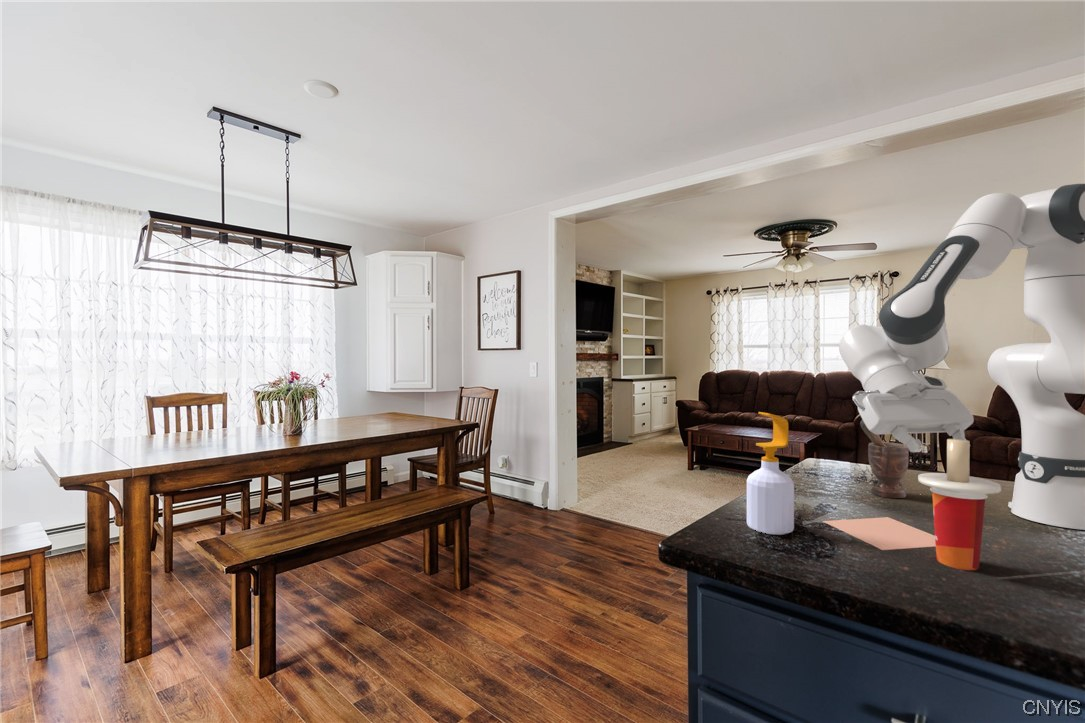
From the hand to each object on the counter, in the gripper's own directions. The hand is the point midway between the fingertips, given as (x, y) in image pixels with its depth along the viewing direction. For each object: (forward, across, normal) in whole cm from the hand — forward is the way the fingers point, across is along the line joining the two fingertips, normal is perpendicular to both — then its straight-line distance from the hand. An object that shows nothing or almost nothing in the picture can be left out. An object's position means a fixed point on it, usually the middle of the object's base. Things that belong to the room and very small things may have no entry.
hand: (941, 449), depth 89 cm
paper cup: (+16, 0, +12) cm, 20 cm away
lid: (+6, 0, +2) cm, 6 cm away
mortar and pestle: (-11, +22, +39) cm, 47 cm away
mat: (+5, 0, +22) cm, 23 cm away
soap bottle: (0, -21, +28) cm, 35 cm away
